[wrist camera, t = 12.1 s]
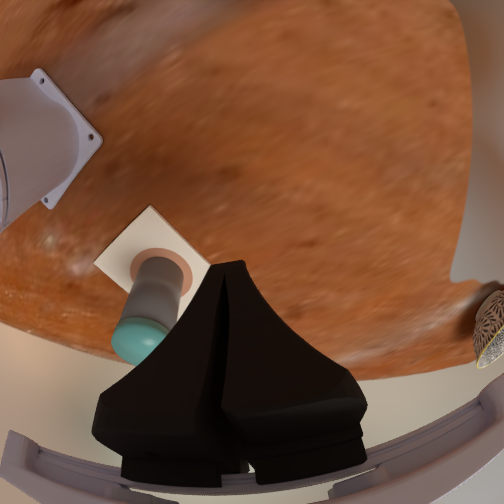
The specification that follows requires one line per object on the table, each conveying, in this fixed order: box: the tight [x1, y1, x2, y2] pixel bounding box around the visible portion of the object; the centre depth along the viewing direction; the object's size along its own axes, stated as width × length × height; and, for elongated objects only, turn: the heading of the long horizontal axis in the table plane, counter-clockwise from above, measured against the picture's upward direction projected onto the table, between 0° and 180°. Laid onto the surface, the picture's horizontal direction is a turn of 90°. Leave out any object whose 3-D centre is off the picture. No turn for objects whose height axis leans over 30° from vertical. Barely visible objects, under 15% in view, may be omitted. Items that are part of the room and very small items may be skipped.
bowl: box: [473, 290, 504, 369], centre depth 29 cm, size 16×16×8 cm
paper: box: [94, 205, 211, 321], centre depth 23 cm, size 10×8×1 cm
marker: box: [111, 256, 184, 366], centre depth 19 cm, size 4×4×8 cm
